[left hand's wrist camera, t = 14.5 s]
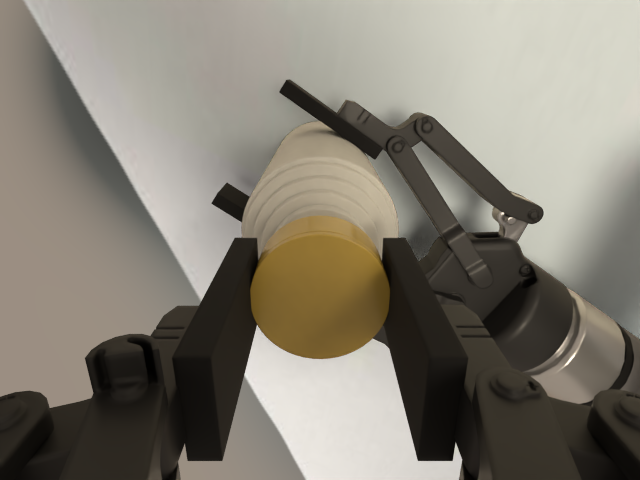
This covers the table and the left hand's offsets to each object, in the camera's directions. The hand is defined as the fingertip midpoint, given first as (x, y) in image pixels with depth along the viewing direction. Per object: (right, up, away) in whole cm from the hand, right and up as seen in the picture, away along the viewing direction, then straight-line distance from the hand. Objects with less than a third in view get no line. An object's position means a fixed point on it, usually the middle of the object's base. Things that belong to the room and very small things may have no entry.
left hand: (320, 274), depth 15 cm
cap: (0, -1, -1) cm, 2 cm away
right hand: (-4, +7, +10) cm, 13 cm away
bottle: (0, +7, +17) cm, 18 cm away
